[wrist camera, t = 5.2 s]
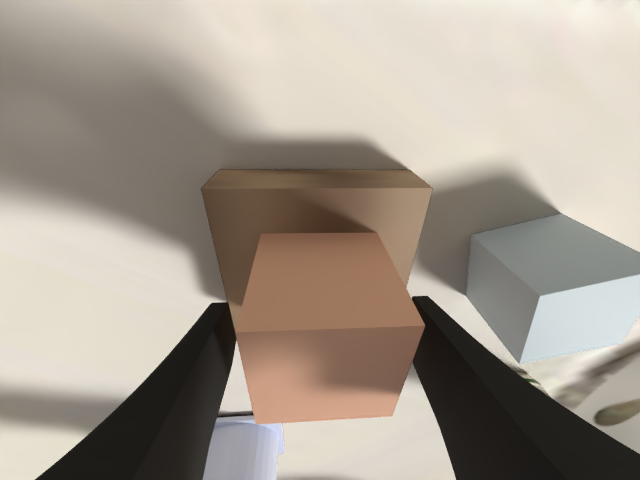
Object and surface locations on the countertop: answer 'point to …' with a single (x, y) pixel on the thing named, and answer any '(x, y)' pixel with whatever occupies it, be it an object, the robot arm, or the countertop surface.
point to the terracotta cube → (325, 328)
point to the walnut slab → (310, 214)
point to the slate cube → (553, 287)
